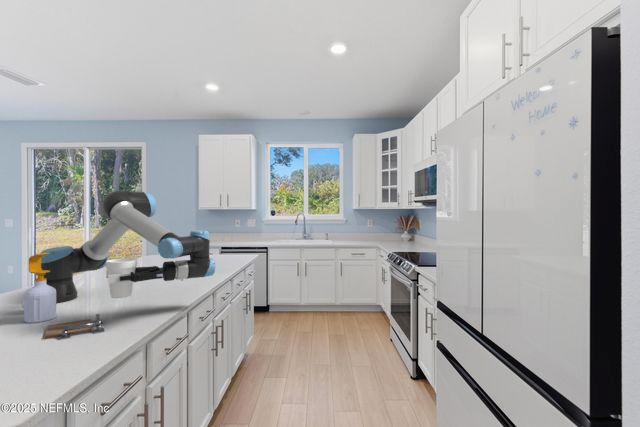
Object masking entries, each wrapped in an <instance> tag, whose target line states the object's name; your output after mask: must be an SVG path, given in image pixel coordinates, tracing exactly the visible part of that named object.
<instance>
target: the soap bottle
mask: <svg viewBox="0 0 640 427" xmlns="http://www.w3.org/2000/svg"><path fill="white" fill-rule="evenodd" d="M40 253H41V252H40ZM40 253H37V254H34V255H31V256H29V258H28V272H29V273H30V274H35V276H37V278H35V279H34V285H33V286H32V287H30V288H29V289H27V290H26V291H25V293H24V295H23V300H24V309H23V321H24V323H26V324H27V323H28V324H36V323H43V322H47V321H51V320H53V319H55V318H56V317H57V303H56V289H55V288H53V287H52V286H49V285H47V284H46V278H44V275H45V274H46V272H50V271H49V270H42V269H41V258H42V256H44V255H47V254H49V253H41V254H40Z"/></svg>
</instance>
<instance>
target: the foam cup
mask: <svg viewBox="0 0 640 427" xmlns="http://www.w3.org/2000/svg"><path fill="white" fill-rule="evenodd" d="M137 264H138V262H137V258H127V257H125V258H113V259H108V261H106V266H105V269H106V270H107V273H108V275H115V274H127V273H130V275H131V272H134V273H135V269H136V267H137ZM108 285H109V286H108V287H109V292H110V298H111V299H122V298H123V299H124V298H128V297H131V296H132V293H133V286H134V282H133V281H127V282H117V283H108Z"/></svg>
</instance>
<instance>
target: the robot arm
mask: <svg viewBox="0 0 640 427" xmlns="http://www.w3.org/2000/svg"><path fill="white" fill-rule="evenodd" d="M101 209H102V212H103V213H104V215H105V216H106V217H107V218H108V219H109V220H108V222H107V223H106V224H105V225H104V226H103V227H102V228H101V229H100V231H99V232H98V233H97V234H96V235H95V236H94V237H93V238H92V239H91V240H90V239H89V240H87V241H85V242H84V243H82V245H81V246H80V247H78V248H77V247H76V248H73V246H71V245H64V246H56V247H51V248H46V249H44V250H42V251H41V252H40V253H39V254H41V253H49V254H47V255H44V256H42V258H41V269H42V270H49V271H50V272H46V274H45V275H44V278H46V284H47V285H49V286H52V287H53V288H55V289H56V304H58V303H64V302H68V301H72V300H75V299H77V298H78V291H77V288H76V285H75V283H74V278H73V277H74V274H77V273H83V272H84V273H85V272H91V271H97V270H101V269H103V268H105V267H106V261H108V260H109V259H110V250H111V249H112V248H113V247H114V246H115V244H117V242H118V241H119V240H120V239H121V238H122V237H123V236H124V235H125V234H126V232H127V231H128V230H131V231H133V232H134V233H135V234H137V235H139V236H140V237H141V238H143V239H145V240H146V241H147V242H149V243H151V244H152V245H154V246H155V247H157V251H158V254H160V257H162V258H163V259H165V260H166V259H167V260H168V259H177V258H181V257H187V256H189V259H181V260H175V261H174V260H172V261H171V260H170V261H164V262H163V264H162V267H159V266H157V265H153V266H152V265H151V266H138V267H137V266H136V269H135V273H134V272H131V275H130V273H127V274H115V275H108V273H107V269H106V274H105V275H106V276H105V278H106V279H107V283H108V284H109V283H117V282H127V281H133V283H138V282H143V281H144V282H145V281H150V280H157V279H160V280H161V279H163V281H165V282H169V281H170V282H171V281H175V280H176V281H177V280H180V281H184V280H187V279H196V278H197V279H199V278H208V277H211V276H214V274H215V273H216V272H215V271H216V261H215V260H214V258H211V257H210V241H211V240H210V232H209V231H208V230H203V229H201V230H199V229H198V230H197V229H196V230H191V231H190V234H189V235H188V236H178V235H177V234H175V233H174V232H172V231H170V230H169V229H168V228H166V227H164V226H163V225H161V224H160V223H158V222H156V221H155V220H153V219H152V218H151V217H153V216H154V215H155V214H156V212H157V200H156V198H155V197H154V196H153V195H152V193H150V192H145V191H134V190H133V191H130V190H129V191H128V190H115V191H114V190H113V191H112V192H110V193H108V194H106V195H105V197H104V198H103V200H102V202H101Z"/></svg>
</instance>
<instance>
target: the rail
mask: <svg viewBox="0 0 640 427" xmlns="http://www.w3.org/2000/svg"><path fill="white" fill-rule="evenodd" d="M102 324H104V319H101V315H100V313H97V314H95V320H93V321H92V322H91V323H87V324H81V325H75V326H69V327H65V330H64V331H62V335H59V337H57V338H58V339H57V340H58V341H60V340H65V339H71V336H72V335H71V334H67V331H68V330H74V329H80V328H86V327H91V328H92V327H95V328H96V329H93V334H98V333H104V332H105V327H102Z"/></svg>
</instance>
